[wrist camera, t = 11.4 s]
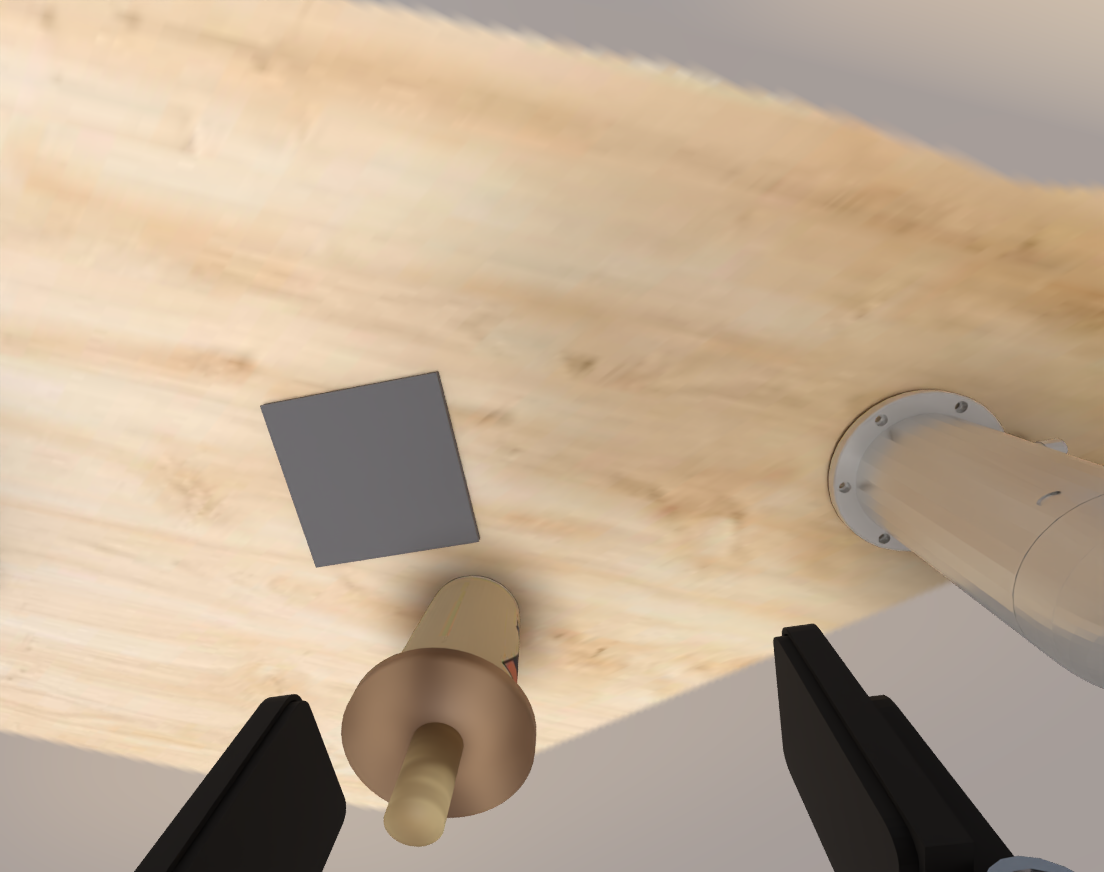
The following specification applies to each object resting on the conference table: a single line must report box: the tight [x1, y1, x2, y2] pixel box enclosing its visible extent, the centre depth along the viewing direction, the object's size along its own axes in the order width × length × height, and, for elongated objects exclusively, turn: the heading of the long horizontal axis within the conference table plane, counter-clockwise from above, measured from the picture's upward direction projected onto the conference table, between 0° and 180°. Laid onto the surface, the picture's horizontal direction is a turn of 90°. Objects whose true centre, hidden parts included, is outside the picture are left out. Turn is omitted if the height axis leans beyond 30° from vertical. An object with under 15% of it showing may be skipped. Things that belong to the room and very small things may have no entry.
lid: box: [341, 647, 536, 847], centre depth 30 cm, size 12×12×6 cm
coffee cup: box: [402, 576, 520, 683], centre depth 39 cm, size 9×9×12 cm
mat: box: [260, 372, 480, 567], centre depth 41 cm, size 14×14×1 cm
